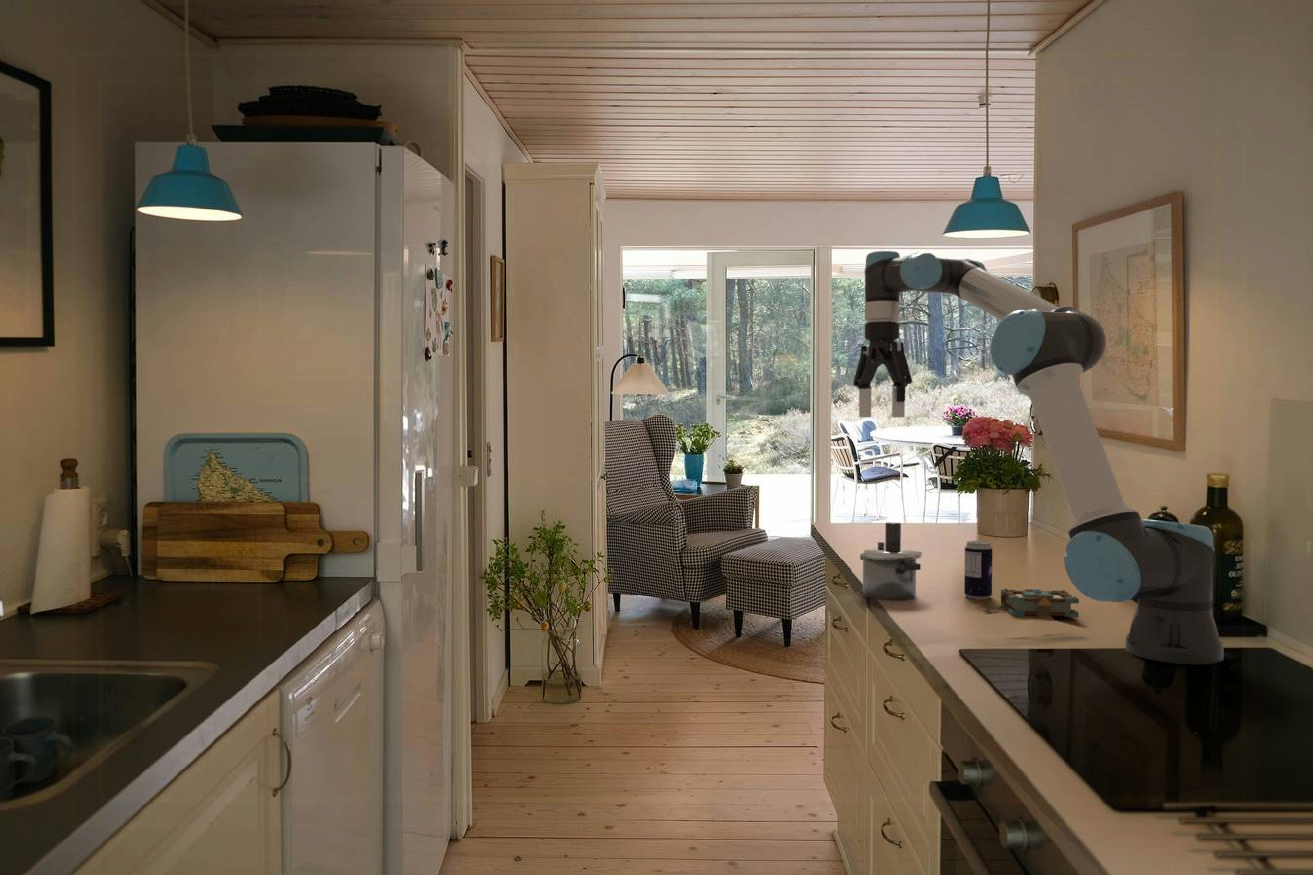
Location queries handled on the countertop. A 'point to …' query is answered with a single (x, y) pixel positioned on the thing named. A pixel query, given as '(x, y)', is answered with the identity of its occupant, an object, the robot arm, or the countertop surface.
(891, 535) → the lid
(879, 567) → the pot
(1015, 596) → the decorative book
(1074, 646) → the countertop surface
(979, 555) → the beverage can
